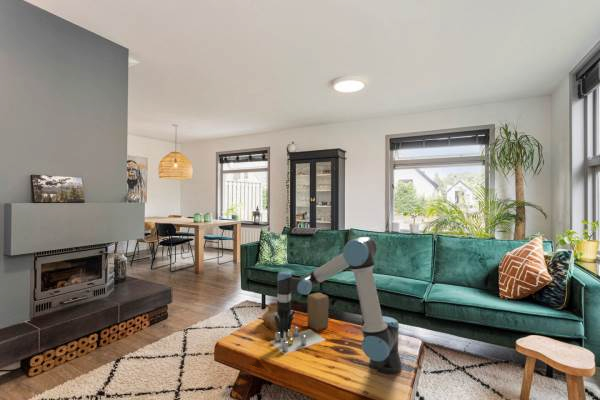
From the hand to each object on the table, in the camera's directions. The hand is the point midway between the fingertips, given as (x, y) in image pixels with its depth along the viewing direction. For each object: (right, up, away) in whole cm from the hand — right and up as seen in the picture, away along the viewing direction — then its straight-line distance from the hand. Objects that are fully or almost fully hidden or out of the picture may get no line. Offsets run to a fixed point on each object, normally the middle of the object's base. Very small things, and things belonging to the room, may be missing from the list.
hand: (283, 343), depth 160 cm
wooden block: (+20, -2, +26) cm, 33 cm away
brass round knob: (+3, -1, +2) cm, 4 cm away
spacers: (+4, -1, +3) cm, 5 cm away
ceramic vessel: (-5, -2, +24) cm, 24 cm away
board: (+8, -2, +6) cm, 10 cm away
